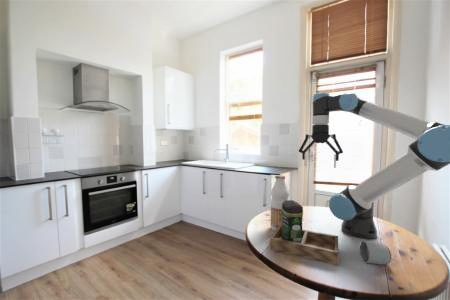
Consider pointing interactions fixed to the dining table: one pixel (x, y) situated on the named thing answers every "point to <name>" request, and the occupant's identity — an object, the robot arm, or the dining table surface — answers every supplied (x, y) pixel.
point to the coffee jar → (292, 221)
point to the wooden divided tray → (308, 246)
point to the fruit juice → (278, 201)
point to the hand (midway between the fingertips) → (319, 166)
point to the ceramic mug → (375, 253)
